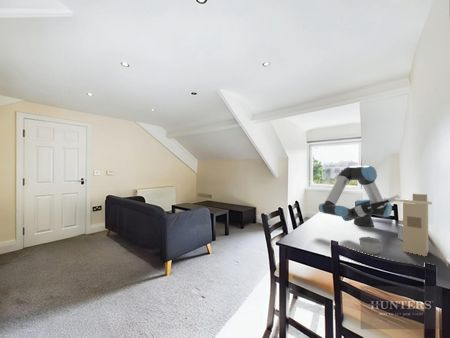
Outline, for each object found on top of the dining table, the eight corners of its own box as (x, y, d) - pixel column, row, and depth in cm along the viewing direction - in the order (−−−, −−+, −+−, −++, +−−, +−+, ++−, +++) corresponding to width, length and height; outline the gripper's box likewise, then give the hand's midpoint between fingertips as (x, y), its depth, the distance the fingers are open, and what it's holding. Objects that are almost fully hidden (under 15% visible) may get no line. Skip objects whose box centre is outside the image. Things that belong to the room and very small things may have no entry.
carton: (406, 246, 129) (406, 200, 129) (428, 251, 121) (427, 202, 122) (403, 251, 121) (402, 202, 122) (426, 256, 114) (425, 204, 114)
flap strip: (385, 199, 134) (385, 191, 135) (432, 203, 118) (431, 194, 118) (384, 200, 132) (383, 192, 132) (431, 204, 115) (431, 195, 115)
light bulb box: (419, 244, 133) (419, 228, 133) (407, 243, 134) (407, 227, 134) (408, 239, 143) (408, 224, 144) (397, 238, 145) (397, 223, 145)
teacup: (380, 258, 112) (380, 244, 112) (357, 252, 119) (357, 239, 120) (382, 250, 123) (382, 237, 123) (361, 246, 130) (361, 234, 130)
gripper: (372, 212, 149) (404, 201, 135) (361, 217, 133) (396, 205, 119) (366, 203, 152) (397, 191, 138) (354, 206, 136) (388, 193, 122)
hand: (397, 197), depth 128 cm, fingers open, 13 cm apart
